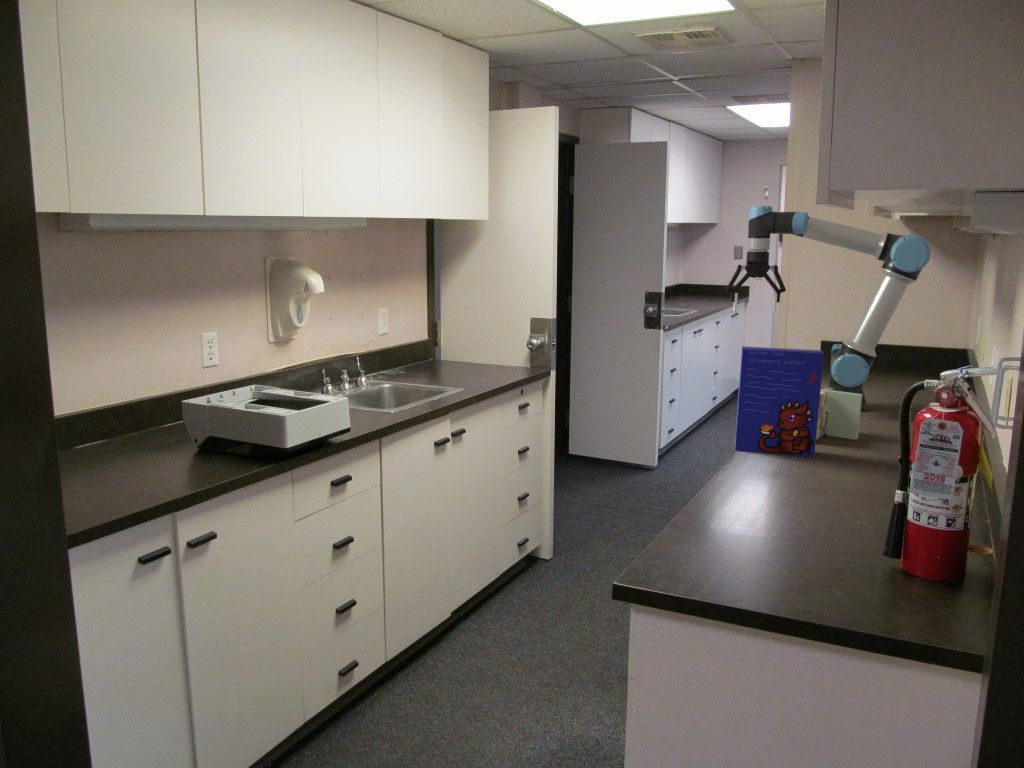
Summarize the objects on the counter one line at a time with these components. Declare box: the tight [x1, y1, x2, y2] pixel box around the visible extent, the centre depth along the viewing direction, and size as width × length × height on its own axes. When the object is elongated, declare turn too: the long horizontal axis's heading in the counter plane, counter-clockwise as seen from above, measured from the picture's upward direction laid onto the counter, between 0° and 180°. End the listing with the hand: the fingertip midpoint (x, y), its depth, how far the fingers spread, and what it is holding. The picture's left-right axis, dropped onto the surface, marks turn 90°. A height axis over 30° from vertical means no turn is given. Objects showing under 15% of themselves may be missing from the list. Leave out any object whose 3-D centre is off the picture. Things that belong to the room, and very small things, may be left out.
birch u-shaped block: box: [816, 386, 833, 441], centre depth 255 cm, size 20×2×14 cm, turn 144°
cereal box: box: [734, 345, 825, 458], centre depth 236 cm, size 22×6×30 cm, turn 76°
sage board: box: [820, 388, 862, 441], centre depth 259 cm, size 22×2×14 cm, turn 54°
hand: (754, 311), depth 291 cm, fingers open, 13 cm apart
